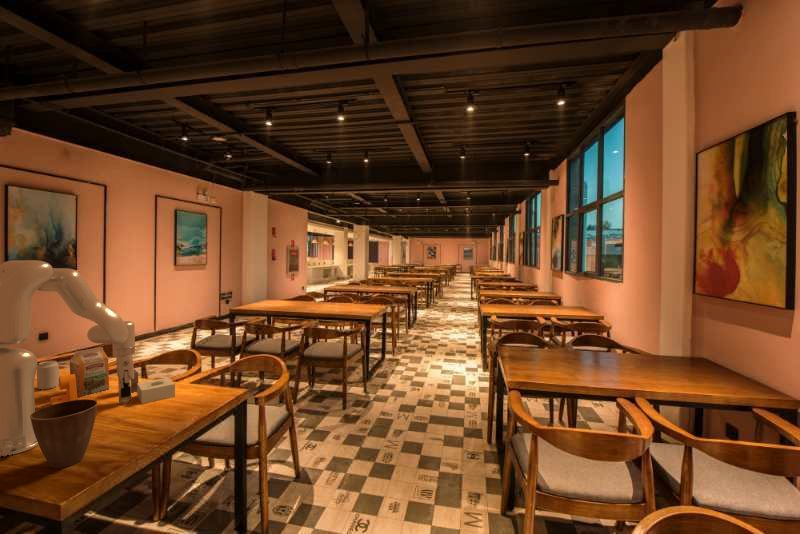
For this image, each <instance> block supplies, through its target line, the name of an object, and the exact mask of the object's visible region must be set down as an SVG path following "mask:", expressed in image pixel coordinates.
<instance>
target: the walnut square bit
mask: <svg viewBox="0 0 800 534" xmlns="http://www.w3.org/2000/svg"><path fill="white" fill-rule="evenodd" d="M137 383H139V371H137V370H135V369H134V379H131V393H132V394H135V393H134V392H136V393H137Z"/></svg>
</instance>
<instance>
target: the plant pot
mask: <svg viewBox="0 0 800 534" xmlns="http://www.w3.org/2000/svg"><path fill="white" fill-rule="evenodd" d="M97 407H98V401H97V400H95V399H91V398H90V399H88V398H85V399H78V400H72V401H66V402H61V403H57V404H53V405H51V404H50V405H47V406H44V407H41V408H39V409H37V410H35V412H33V413H32V414H31V415H30V418H31V423H32V427H33V431H34V434H35V437H36V439H37V442H38V444H39V445H38V447H39V449H40V451H41V453H42V455H43V456H44V459H45V460H46V462H47V464H48V465H49V467H51V469H52V468H53V469H61V468H63V469H64V468H66V467H70V466H73V465H75V464H78V463H79V462H81V461H82V460H84V458H85V455H86V452H87V449H88V446H89V444H90V441H91V437H92V434H93V430H94V426H95V421H96V416H97V409H98V408H97Z"/></svg>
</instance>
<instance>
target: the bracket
mask: <svg viewBox="0 0 800 534" xmlns="http://www.w3.org/2000/svg"><path fill="white" fill-rule="evenodd" d="M58 387H59V390H60V391H61V390H65V394H63V395H58V396H53V397H50V399H49V403H50V405H53V404H57V403H61V402H66V401H72V400H79V398H78V396H77V387H76V377H75V374H71V375H70V374H66V375H62V376H60V375H59V385H58Z"/></svg>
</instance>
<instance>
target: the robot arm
mask: <svg viewBox="0 0 800 534" xmlns="http://www.w3.org/2000/svg"><path fill="white" fill-rule="evenodd" d="M37 291H41V292H54V293H55V292H56V293H57V294H58V295H59V296H60V298H62V300H63V301H64V303H65V304H66V305H67V306H68V308H69V309H70V311H71V312H72V313H73V314H75V315H77V316H79V317H81V318H83V319H87V320H88V321H91V322H94V323H95V325H94V326H92V327H90V328H89V329H88V331H87V336H86V337H87V339H88V340H89V341H90V342H91V343H94V344H103V345H112V357H113V358H116V360H115V362H116V372H117V373H116V374H117V379H118V378H119V380H120V381H121V386H122V388H121V398H124V397H129V396H131V397H132V394H131V389H130V378H131V379H134V370H135V368H134V356H133V355H135V354H136V337H135V336H136V335H135V334H136V332H135V329H136V328H135V323H134V321H131V320H123V319H122V317H121V316H120V315H119V314H118V313H117V312H116V311H114V309H112V308H110V307H109V306H108V305H107V304H105V303H103V302H102V301H100V300H99V299H98V298H97V296H96V294H95V293H94V292H93V290H92V288H91V287H90V285H88V283H87V282H86V280H85V279H84V276H82V274H81V273H80V272H79V271H77V270H75V269H73V268H66V267H65V268H63V267H61V268H59V267H57V268H56V267H53V266H52V265H51V264H50V263H48V262H46V261H43V260H36V259H34V260H33V259H29V260H26V259H24V260H20V259H19V260H16V259H15V260H8V261H7V260H6V261H5V262H2V263H1V264H0V458H2V457H1V456H3V457H8V456H7V455H9V456H13V455H16V454H20V453H24V452H26V451H29V450H31V449H34V448H36V447H38V446H39V444H38V442H37V439H36V437H35V434H34V431H33V427H32V423H31V418H30V415H31V414H32V413H33V412H35V411H36V403H35V399H36V398H35V381H36V380H35V379H36V375H37V366H38V358H37V356H36V355H35V353H33V352H32V351H30V350H28V349H25V348H18V347H9V345H18V344H22V343H24V342H25V341H27V340H28V339H29V337H30V336H31V332H32V311H31V310H32V309H31V307H32V298H33V296H34V295H35V293H36V292H37ZM123 379H125V380H123ZM123 382H124V383H123ZM12 454H13V455H12Z"/></svg>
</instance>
